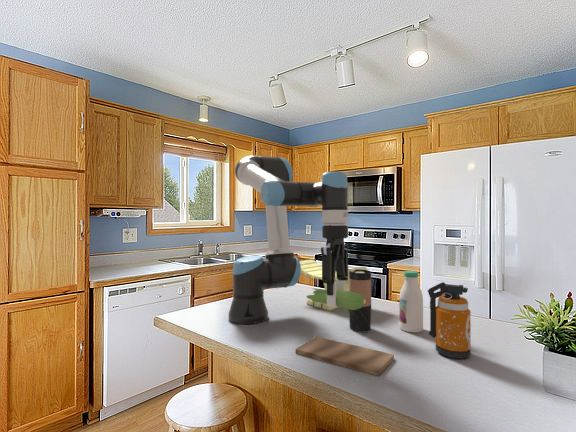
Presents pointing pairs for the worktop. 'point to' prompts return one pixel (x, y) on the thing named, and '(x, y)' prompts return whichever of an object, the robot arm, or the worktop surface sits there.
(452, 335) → the canister
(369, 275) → the travel mug
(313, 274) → the slatted curved stool
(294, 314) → the worktop surface
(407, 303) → the milk bottle
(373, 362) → the serving board
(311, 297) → the edible corn
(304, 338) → the worktop surface
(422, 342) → the worktop surface
